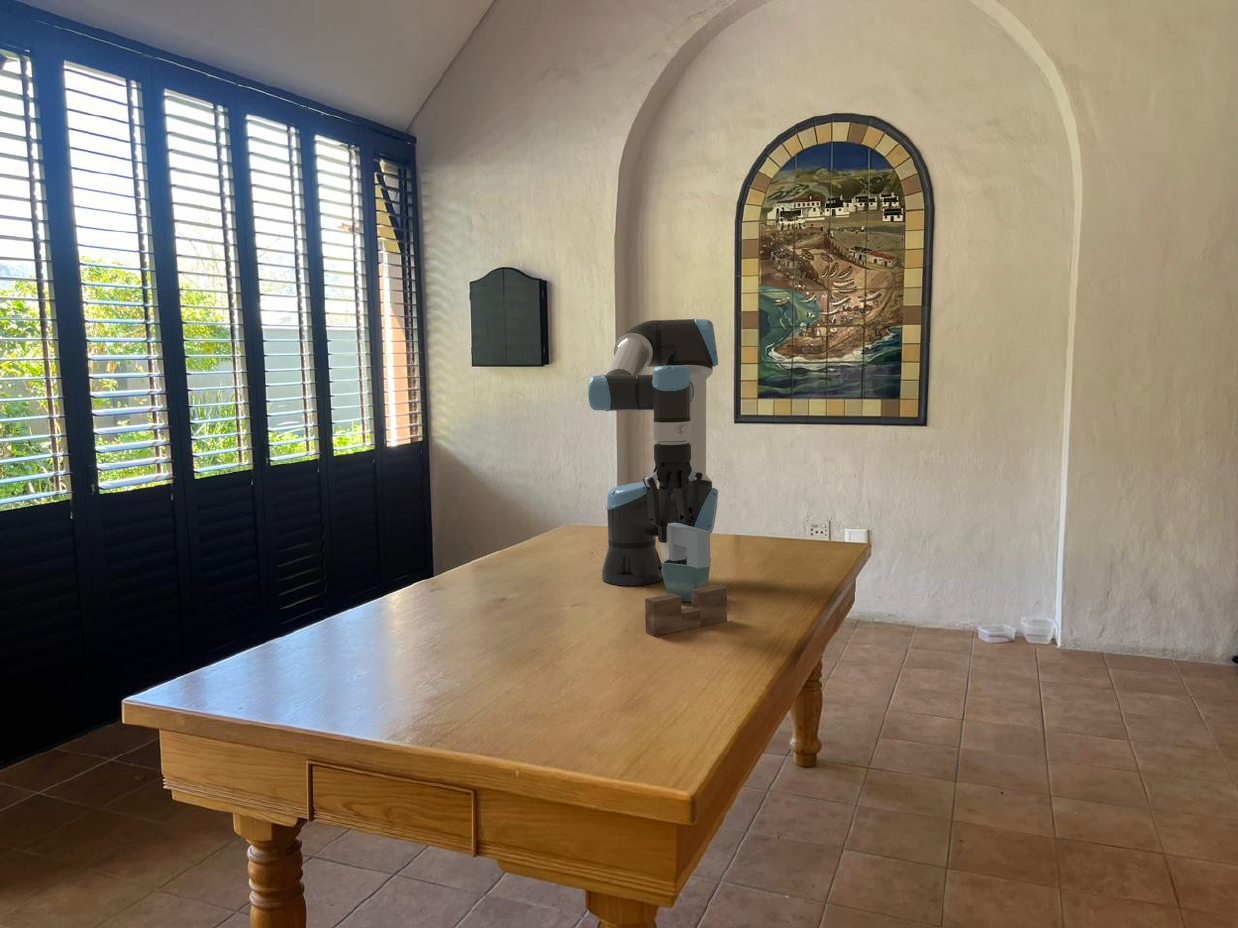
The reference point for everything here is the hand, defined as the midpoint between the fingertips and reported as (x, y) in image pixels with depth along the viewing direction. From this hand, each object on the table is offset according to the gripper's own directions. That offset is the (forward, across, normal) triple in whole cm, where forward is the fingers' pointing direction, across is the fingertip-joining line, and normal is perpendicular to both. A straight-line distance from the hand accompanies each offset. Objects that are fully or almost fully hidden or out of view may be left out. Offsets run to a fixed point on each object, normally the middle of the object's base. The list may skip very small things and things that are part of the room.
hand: (674, 556), depth 192 cm
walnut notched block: (+14, 0, -4) cm, 14 cm away
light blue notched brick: (0, 0, -4) cm, 4 cm away
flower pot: (+14, +12, +13) cm, 23 cm away
